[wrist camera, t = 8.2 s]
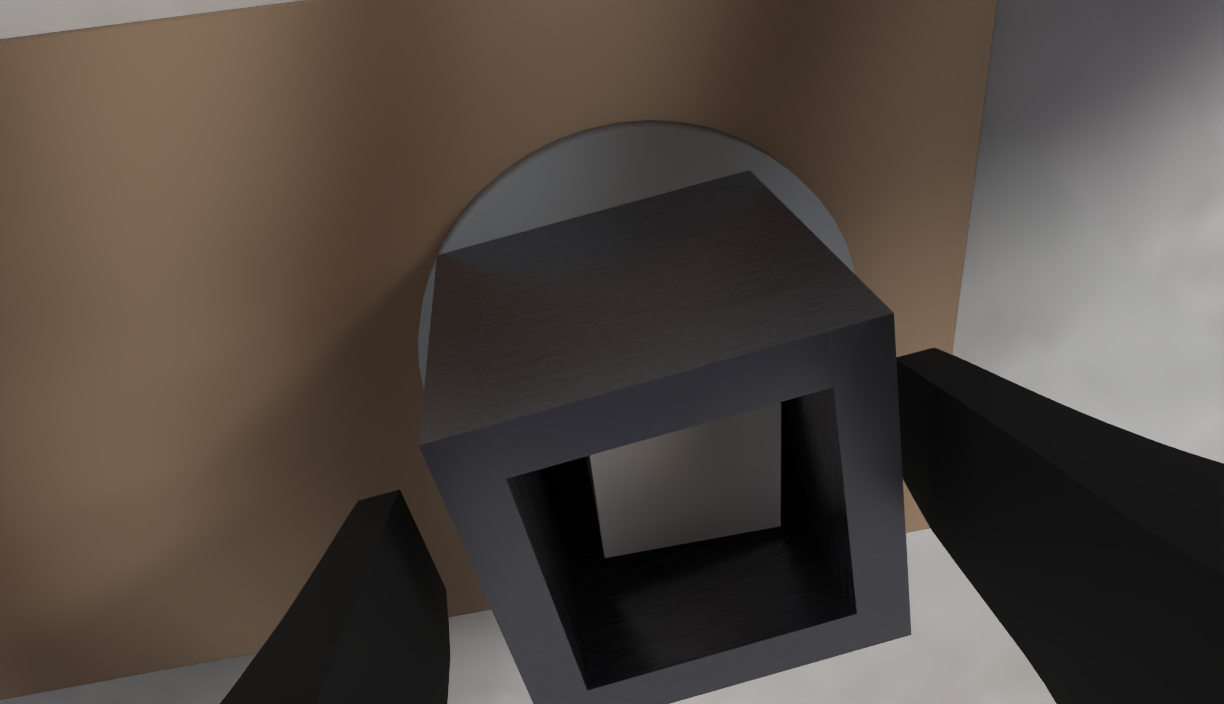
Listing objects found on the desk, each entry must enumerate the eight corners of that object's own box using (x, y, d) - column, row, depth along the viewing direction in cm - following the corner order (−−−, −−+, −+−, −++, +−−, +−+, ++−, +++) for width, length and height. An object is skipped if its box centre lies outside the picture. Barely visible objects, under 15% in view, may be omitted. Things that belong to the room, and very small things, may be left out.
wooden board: (965, -89, 13) (1219, -78, 8) (904, 493, 19) (1033, 675, 15) (-391, 84, 11) (-931, 207, 7) (15, 654, 17) (-139, 911, 13)
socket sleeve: (749, 169, 13) (894, 312, 8) (785, 423, 15) (911, 635, 11) (437, 255, 12) (418, 445, 8) (526, 496, 15) (549, 738, 11)
